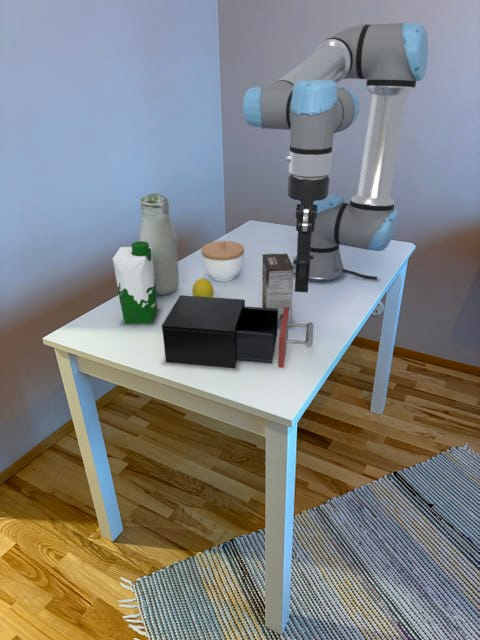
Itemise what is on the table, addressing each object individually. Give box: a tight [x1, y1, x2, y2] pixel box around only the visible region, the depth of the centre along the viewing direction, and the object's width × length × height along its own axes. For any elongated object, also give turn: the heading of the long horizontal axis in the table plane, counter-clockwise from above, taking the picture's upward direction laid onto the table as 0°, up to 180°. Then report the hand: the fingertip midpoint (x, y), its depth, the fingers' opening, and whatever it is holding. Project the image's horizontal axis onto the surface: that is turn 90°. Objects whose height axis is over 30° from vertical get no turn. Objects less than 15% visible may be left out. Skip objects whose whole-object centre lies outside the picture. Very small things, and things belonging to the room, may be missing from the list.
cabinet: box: [161, 294, 246, 369], centre depth 105 cm, size 16×14×10 cm
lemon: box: [192, 277, 214, 298], centre depth 124 cm, size 6×6×8 cm
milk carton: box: [112, 240, 158, 324], centre depth 116 cm, size 9×9×20 cm
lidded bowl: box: [200, 240, 245, 282], centre depth 139 cm, size 13×13×11 cm
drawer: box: [235, 305, 315, 369], centre depth 103 cm, size 20×13×8 cm, turn 81°
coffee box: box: [261, 253, 295, 328], centre depth 115 cm, size 9×6×16 cm
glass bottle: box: [138, 193, 180, 296], centre depth 126 cm, size 10×10×28 cm
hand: (301, 290), depth 97 cm, fingers closed
